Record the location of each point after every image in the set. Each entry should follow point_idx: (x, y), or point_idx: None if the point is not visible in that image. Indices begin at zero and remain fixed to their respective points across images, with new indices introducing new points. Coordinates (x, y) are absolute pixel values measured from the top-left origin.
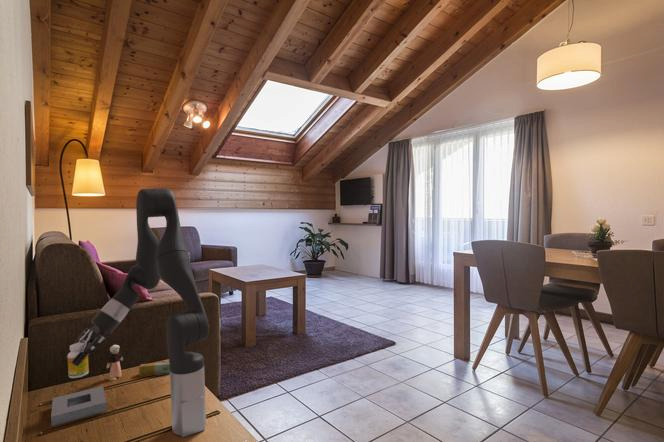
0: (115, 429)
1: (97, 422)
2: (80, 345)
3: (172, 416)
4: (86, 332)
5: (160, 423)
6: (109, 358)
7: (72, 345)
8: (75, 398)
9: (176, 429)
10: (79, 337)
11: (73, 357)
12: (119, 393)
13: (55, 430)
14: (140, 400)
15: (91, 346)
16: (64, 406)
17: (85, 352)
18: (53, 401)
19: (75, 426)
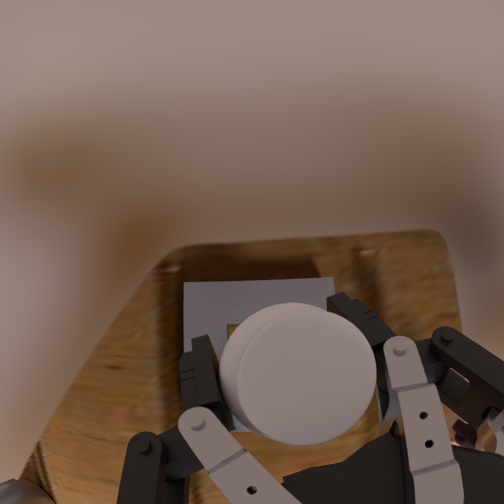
0: (82, 419)
1: (139, 394)
2: (257, 415)
3: (9, 487)
4: (444, 475)
5: (67, 486)
6: (468, 425)
7: (316, 335)
8: None
9: (15, 481)
10: (479, 367)
11: (225, 346)
12: (309, 456)
13: (161, 299)
14: (214, 499)
15: (128, 490)
16: (238, 315)
17: (166, 434)
18: (304, 281)
19: (151, 344)
